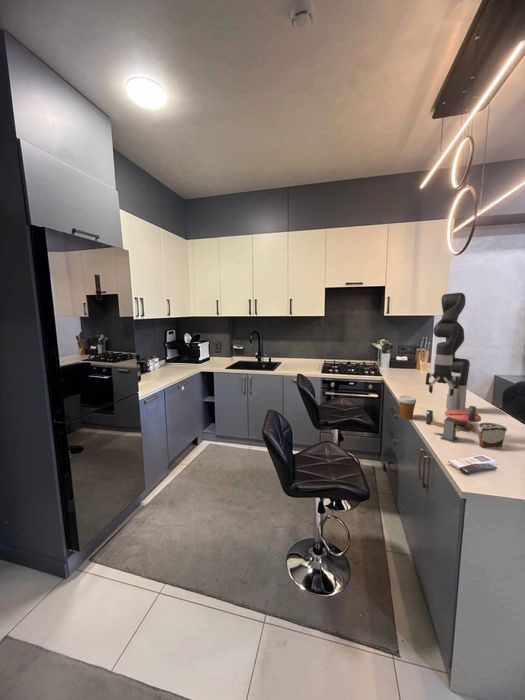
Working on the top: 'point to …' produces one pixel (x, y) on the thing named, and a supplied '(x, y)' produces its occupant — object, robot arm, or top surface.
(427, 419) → the hook
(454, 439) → the eye block
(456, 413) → the handwheel
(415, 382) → the top surface
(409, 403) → the disposable coffee cup
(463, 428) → the pedestal
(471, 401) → the top surface
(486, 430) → the food container
